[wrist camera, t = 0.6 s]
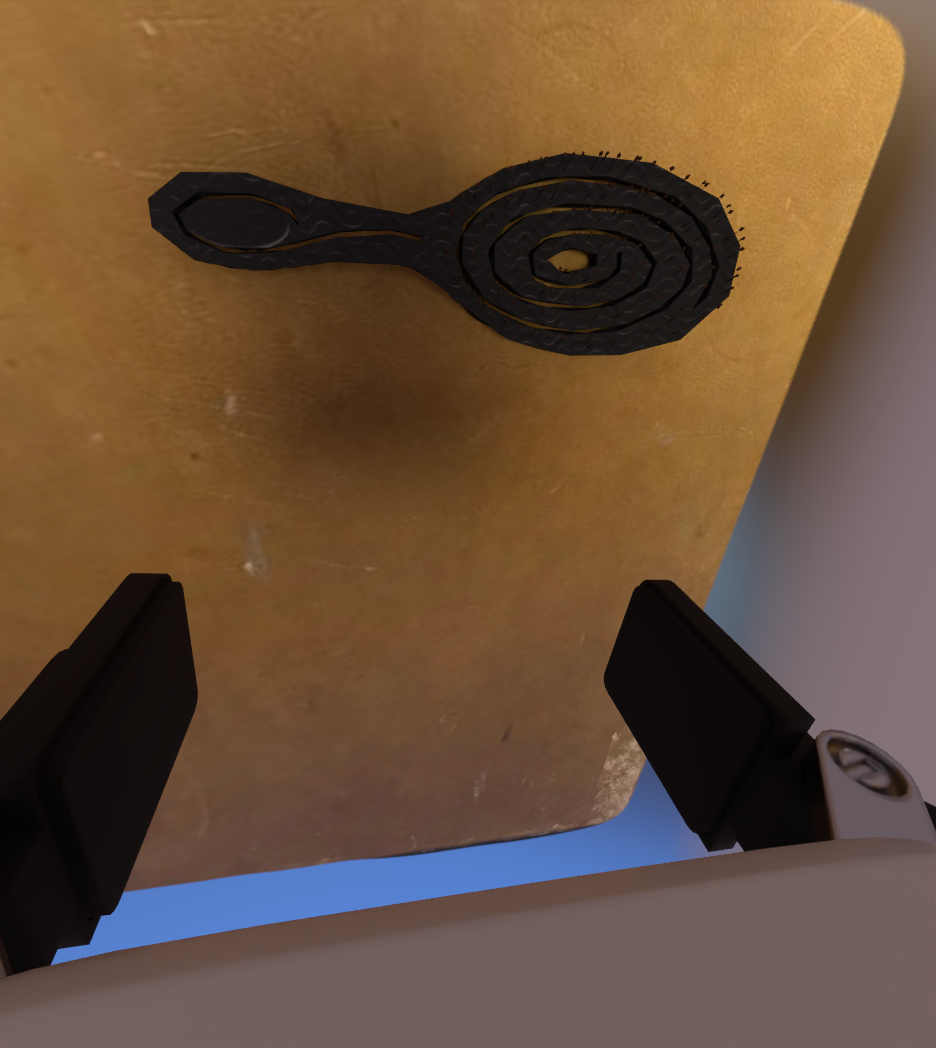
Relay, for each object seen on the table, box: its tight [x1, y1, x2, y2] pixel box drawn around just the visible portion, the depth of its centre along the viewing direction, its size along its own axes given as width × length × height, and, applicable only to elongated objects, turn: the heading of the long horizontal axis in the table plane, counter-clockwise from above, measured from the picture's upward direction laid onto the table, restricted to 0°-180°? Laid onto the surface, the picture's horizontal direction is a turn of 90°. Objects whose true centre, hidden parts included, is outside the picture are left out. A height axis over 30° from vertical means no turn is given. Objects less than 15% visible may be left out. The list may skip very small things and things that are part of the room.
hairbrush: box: [148, 151, 745, 356], centre depth 20 cm, size 8×4×25 cm
